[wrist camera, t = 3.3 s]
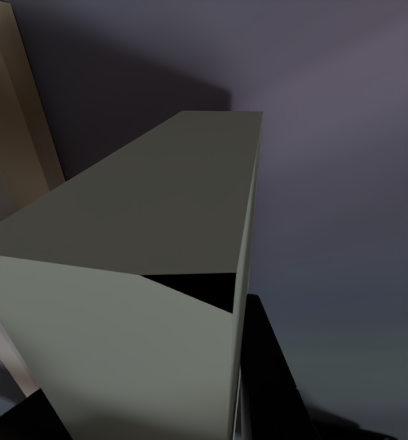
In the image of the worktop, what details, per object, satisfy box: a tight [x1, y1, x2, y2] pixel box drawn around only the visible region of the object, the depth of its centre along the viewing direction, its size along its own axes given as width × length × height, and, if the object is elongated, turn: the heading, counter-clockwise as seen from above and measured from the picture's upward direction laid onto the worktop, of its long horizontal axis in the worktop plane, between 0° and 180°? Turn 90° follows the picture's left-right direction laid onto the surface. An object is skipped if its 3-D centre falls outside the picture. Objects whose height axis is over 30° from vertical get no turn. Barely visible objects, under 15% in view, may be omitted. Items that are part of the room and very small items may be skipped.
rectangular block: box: [0, 111, 263, 440], centre depth 8 cm, size 12×2×7 cm, turn 1°
